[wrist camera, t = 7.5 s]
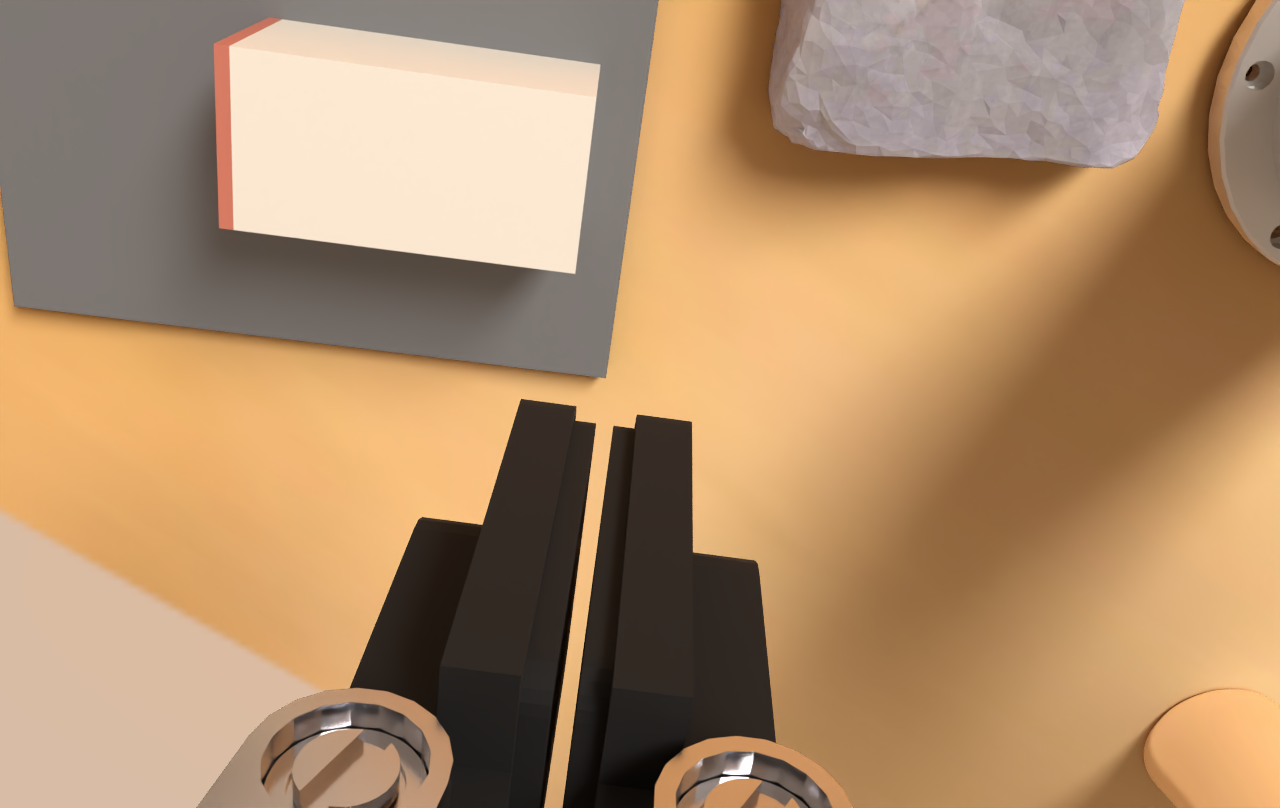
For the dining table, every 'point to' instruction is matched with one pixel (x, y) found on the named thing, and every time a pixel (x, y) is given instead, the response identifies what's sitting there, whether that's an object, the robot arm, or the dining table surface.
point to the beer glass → (1218, 751)
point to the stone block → (973, 77)
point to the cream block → (403, 143)
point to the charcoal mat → (276, 265)
